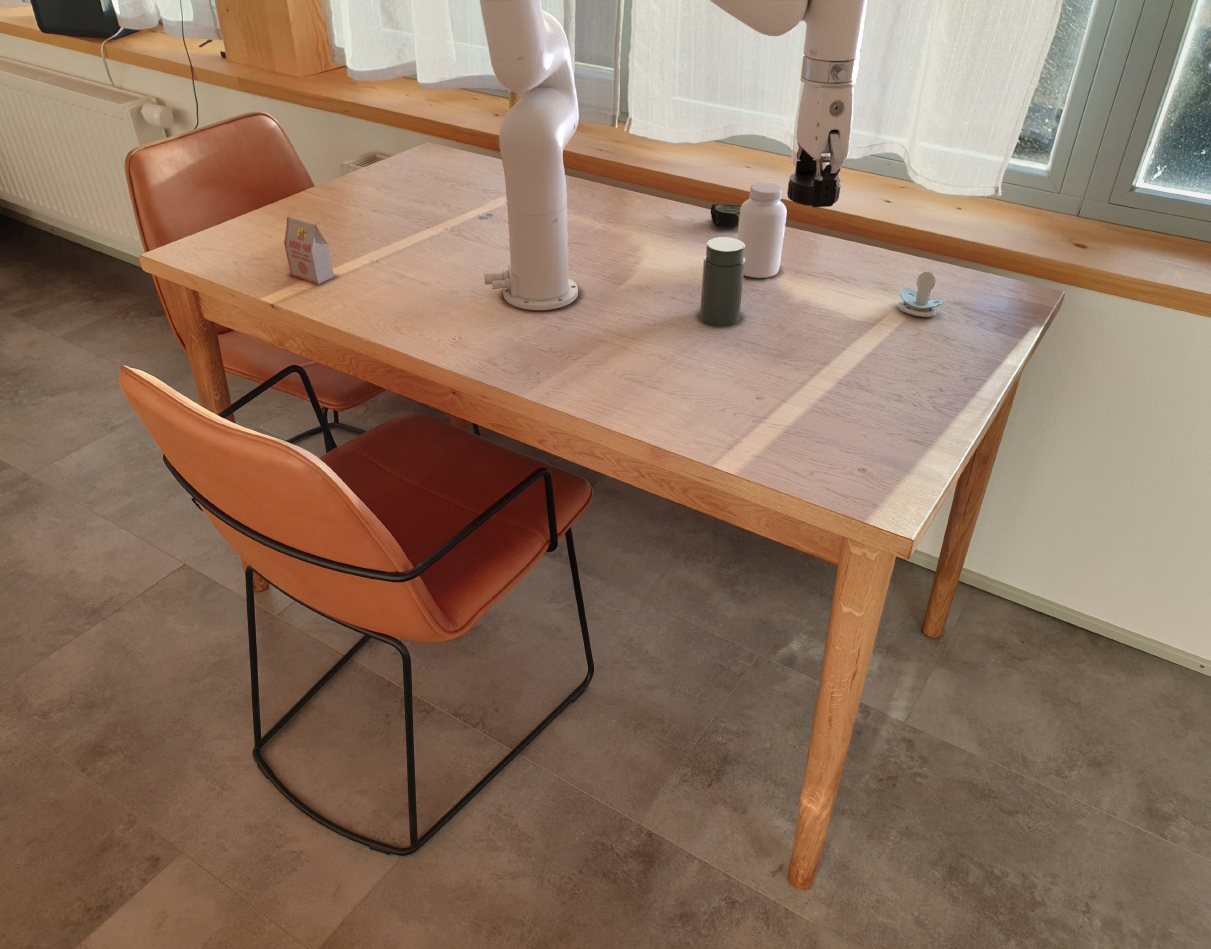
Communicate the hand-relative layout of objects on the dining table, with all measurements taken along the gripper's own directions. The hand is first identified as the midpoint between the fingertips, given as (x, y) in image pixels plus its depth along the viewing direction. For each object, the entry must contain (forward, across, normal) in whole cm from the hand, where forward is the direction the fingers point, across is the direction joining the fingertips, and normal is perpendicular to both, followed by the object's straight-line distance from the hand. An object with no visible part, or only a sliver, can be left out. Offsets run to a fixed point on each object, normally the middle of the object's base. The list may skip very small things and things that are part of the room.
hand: (812, 195), depth 139 cm
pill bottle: (+21, +20, +1) cm, 29 cm away
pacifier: (+21, +1, -21) cm, 30 cm away
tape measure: (+21, +42, +1) cm, 47 cm away
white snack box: (+20, +28, +79) cm, 86 cm away
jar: (+20, +3, +12) cm, 24 cm away
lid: (-2, 0, 0) cm, 2 cm away
